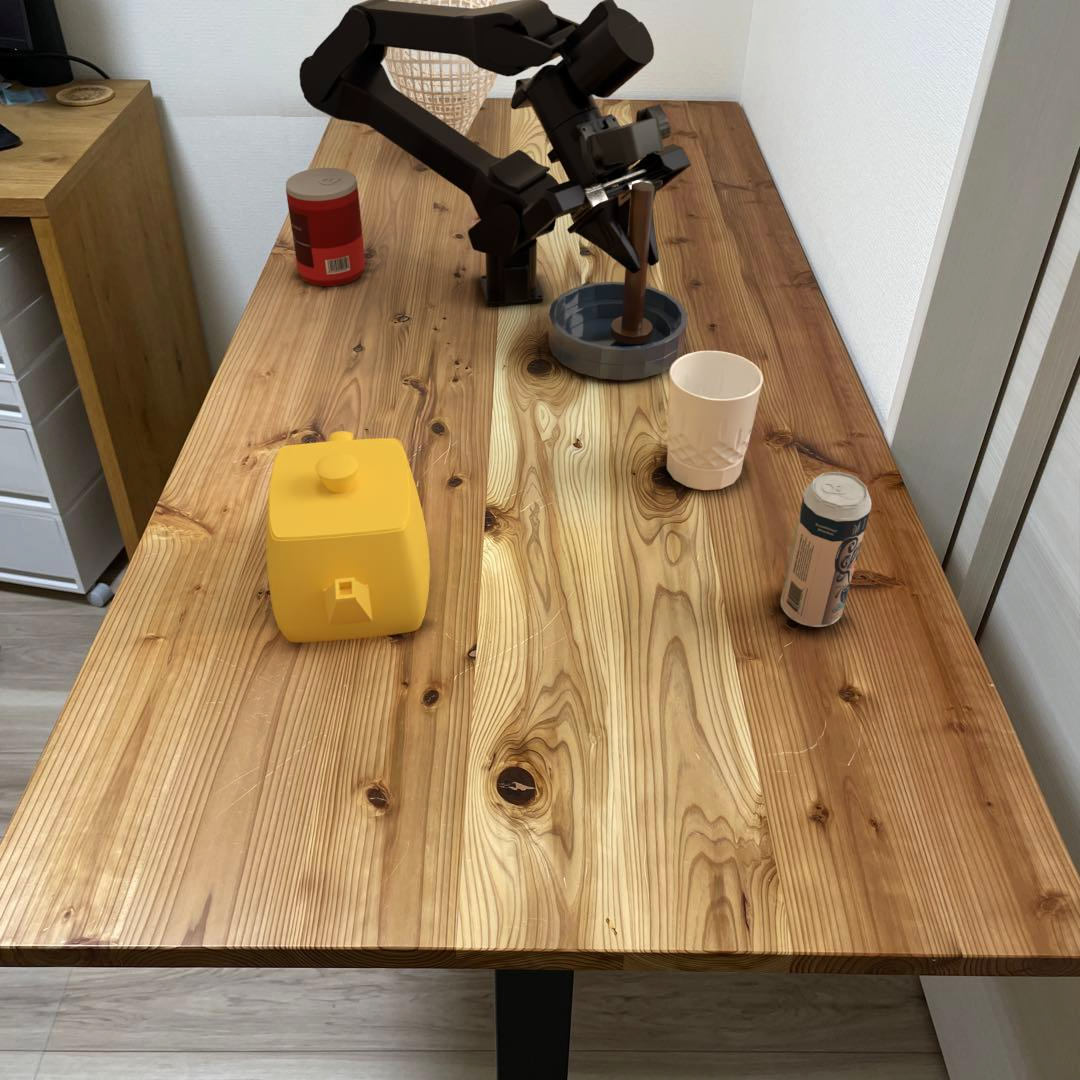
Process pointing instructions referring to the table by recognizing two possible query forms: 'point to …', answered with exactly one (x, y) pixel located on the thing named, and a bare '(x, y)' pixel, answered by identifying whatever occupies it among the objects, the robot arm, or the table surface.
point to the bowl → (589, 344)
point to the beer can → (825, 548)
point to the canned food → (326, 226)
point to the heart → (401, 72)
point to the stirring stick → (632, 322)
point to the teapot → (345, 541)
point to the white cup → (710, 417)
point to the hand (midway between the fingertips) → (646, 267)
